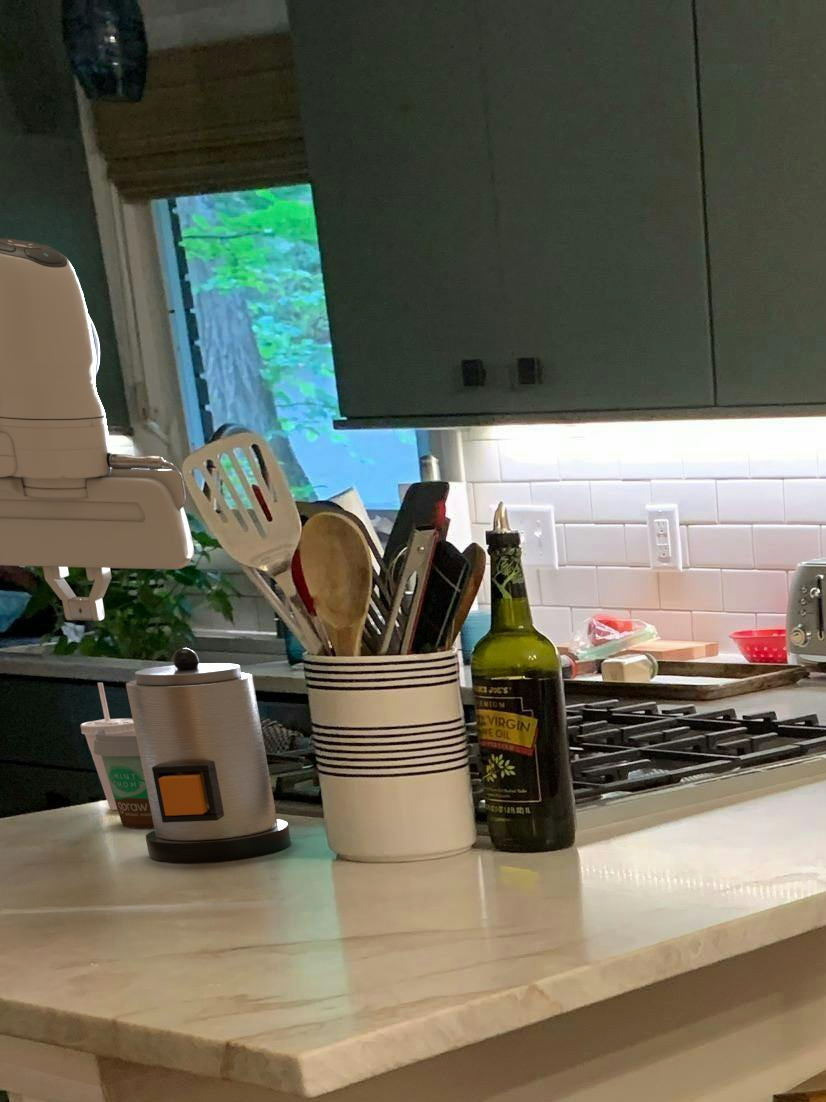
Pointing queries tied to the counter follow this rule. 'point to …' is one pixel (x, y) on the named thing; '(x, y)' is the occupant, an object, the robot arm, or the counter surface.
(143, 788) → the food container
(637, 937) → the counter surface
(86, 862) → the counter surface
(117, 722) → the smoothie
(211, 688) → the kettle
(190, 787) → the switch
